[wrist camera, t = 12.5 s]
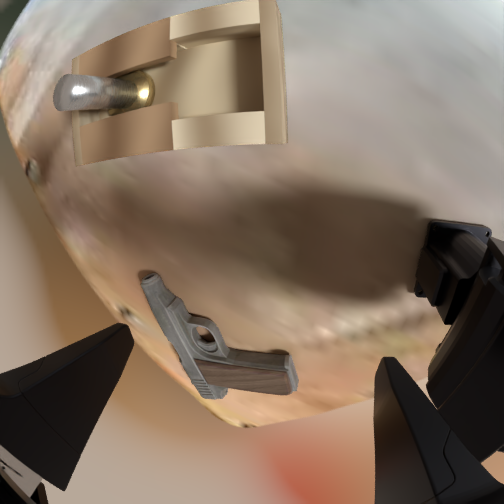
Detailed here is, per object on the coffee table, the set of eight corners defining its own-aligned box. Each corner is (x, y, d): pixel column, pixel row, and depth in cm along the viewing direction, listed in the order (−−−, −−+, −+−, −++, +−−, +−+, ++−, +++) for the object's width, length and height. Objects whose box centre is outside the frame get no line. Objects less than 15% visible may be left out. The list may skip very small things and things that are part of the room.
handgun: (252, 264, 19) (130, 285, 23) (297, 402, 24) (196, 400, 28) (261, 247, 22) (148, 270, 26) (301, 380, 27) (205, 382, 31)
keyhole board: (281, 15, 13) (274, -3, 11) (287, 142, 17) (282, 143, 15) (94, 62, 17) (72, 59, 14) (98, 160, 21) (75, 166, 19)
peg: (154, 64, 16) (88, 48, 10) (156, 115, 18) (87, 116, 11) (113, 78, 17) (46, 73, 11) (114, 125, 19) (46, 133, 12)
